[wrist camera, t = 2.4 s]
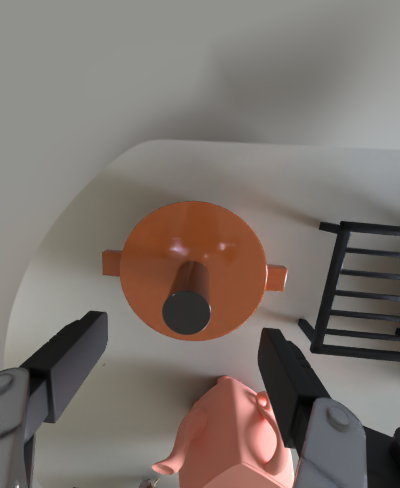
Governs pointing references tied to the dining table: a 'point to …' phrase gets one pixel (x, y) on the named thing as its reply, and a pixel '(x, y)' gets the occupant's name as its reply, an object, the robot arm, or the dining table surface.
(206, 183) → the dining table surface
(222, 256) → the lid
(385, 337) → the rack
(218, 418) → the teapot
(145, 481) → the artificial flower
